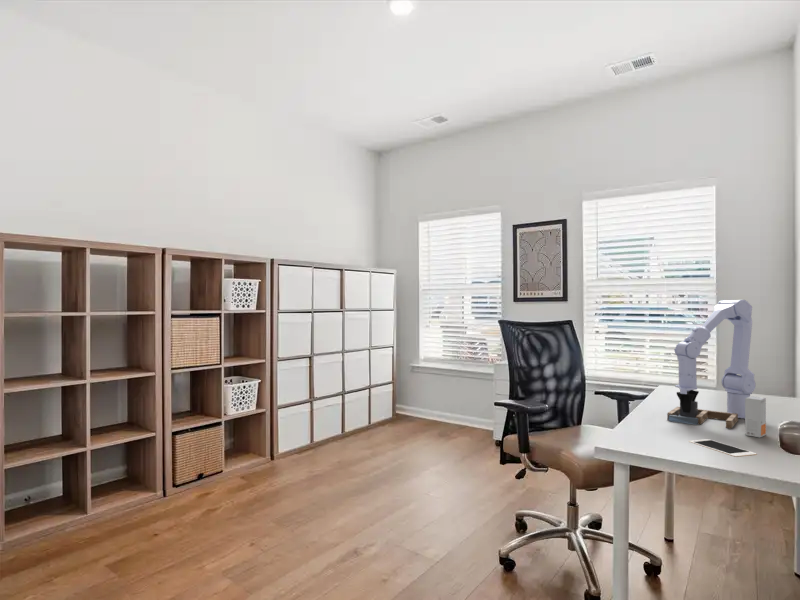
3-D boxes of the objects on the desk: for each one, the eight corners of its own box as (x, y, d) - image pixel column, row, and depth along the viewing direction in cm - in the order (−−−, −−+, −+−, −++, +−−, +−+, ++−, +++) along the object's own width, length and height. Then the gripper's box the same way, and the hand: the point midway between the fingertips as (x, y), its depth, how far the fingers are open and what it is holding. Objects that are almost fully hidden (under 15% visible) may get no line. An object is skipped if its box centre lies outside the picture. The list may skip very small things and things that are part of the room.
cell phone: (735, 458, 134) (735, 455, 134) (687, 442, 150) (687, 440, 150) (757, 455, 136) (757, 453, 136) (708, 440, 152) (708, 438, 152)
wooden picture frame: (677, 413, 190) (677, 406, 190) (737, 420, 177) (737, 413, 177) (666, 420, 177) (666, 413, 177) (730, 429, 164) (730, 421, 164)
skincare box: (761, 438, 153) (760, 399, 154) (745, 435, 157) (744, 398, 157) (766, 434, 157) (766, 397, 157) (750, 432, 161) (750, 395, 161)
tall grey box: (682, 416, 183) (682, 400, 183) (697, 418, 180) (697, 401, 180) (680, 417, 180) (679, 401, 180) (695, 419, 177) (695, 403, 177)
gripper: (679, 371, 189) (680, 406, 188) (670, 375, 178) (671, 412, 177) (700, 373, 184) (701, 409, 184) (692, 377, 173) (693, 415, 173)
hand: (687, 411), depth 180 cm, fingers open, 5 cm apart
